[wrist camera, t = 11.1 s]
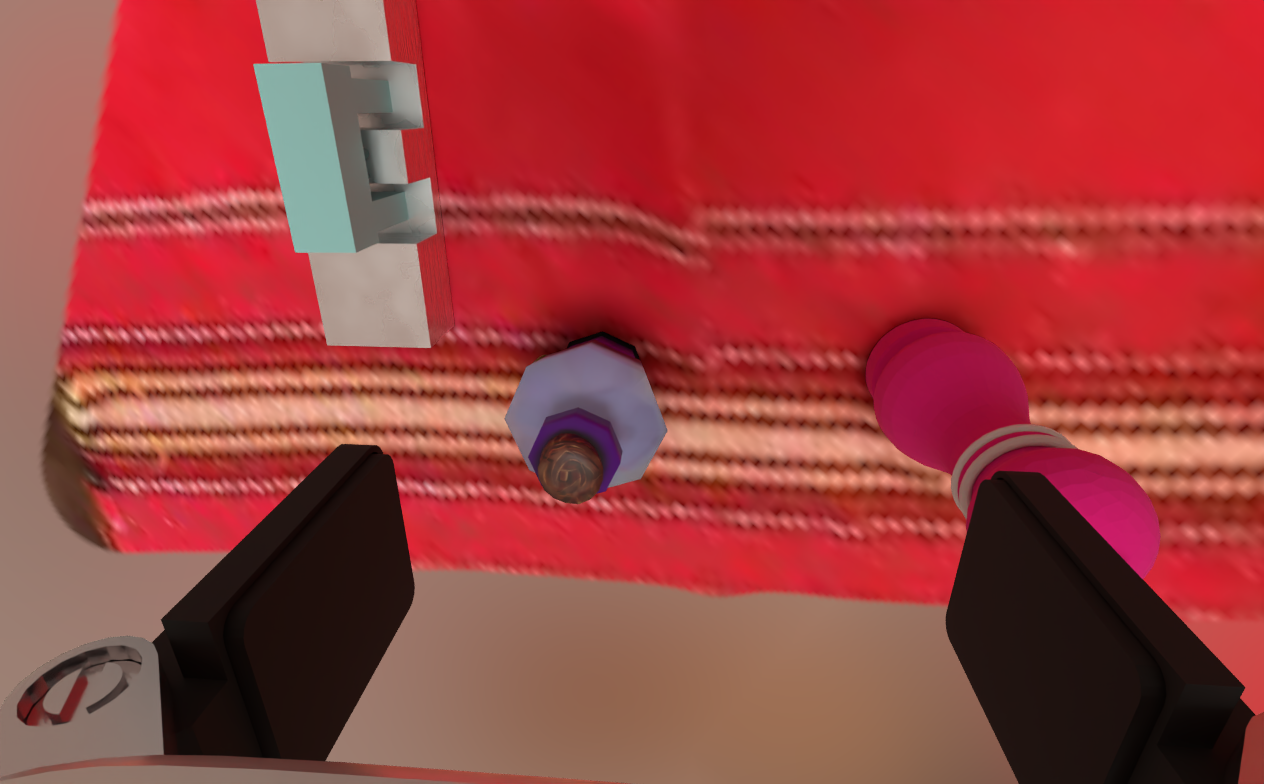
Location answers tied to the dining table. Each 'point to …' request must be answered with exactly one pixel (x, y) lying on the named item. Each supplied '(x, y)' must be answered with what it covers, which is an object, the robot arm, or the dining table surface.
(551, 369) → the potion bottle
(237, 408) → the dining table surface
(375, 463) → the robot arm
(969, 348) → the pepper mill
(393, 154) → the rail
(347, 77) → the teal u-shaped block
